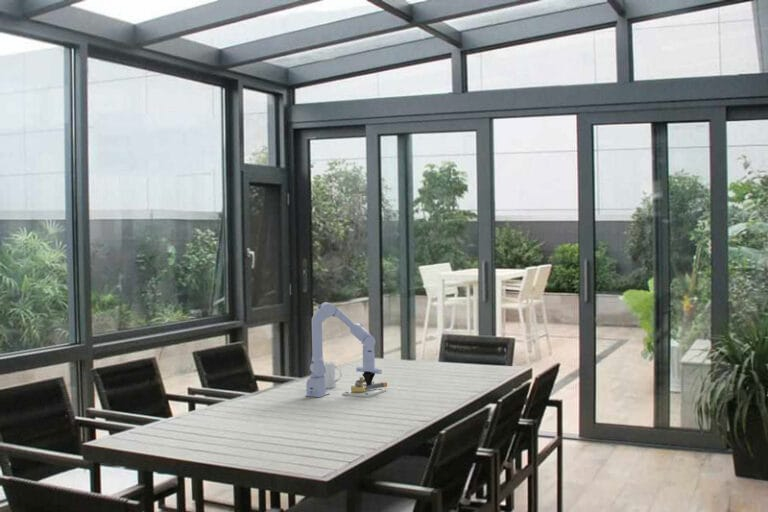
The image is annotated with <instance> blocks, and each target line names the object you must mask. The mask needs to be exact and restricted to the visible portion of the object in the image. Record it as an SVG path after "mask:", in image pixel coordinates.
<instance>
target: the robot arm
mask: <svg viewBox="0 0 768 512" xmlns="http://www.w3.org/2000/svg"><path fill="white" fill-rule="evenodd" d="M331 317H334V318H338V319H339V320H340V321H341V322H342V323H344V324H345V325H346V326H347V327H348V328H349V333H351V334H352V335H353V336H354V338H356V339H357V340H358V341H360V342H361V344H362V366H357V367H356V368H355V369H356V371H355V372H361V374H362V377H363V379H365V381H366V385H370V384H372V381H374V377H375V376H376V375H380V374H382V373H383V372H382V369H381V368H380V369H379V368H376V367H375V366H376V363H375V361H376V360H375V358H376V357H375V356H376V355H375V345H376V343H377V342H376V338H375V337H374V336H373V335H371V333H370V331H369V330H366V329H365V328H364V327H363V324H362V323H357V322H354V321H352V320H351V318H349V317H348V315H346V313H344V312H343V311H342V310H341V309H340V308H338V307H337V306H335V304H333V303H330V302H328V301H324V302H322V303H321V304H319V305H318V306H317V307H316V310H315V312H314V313H313V316H312V317H311V347H312V348H311V350H312V351H311V352H312V353H311V354H312V356H311V362H310V365H309V370H310V372H311V373H310V377H309V379H307V380H306V384H305V385H306V394H304V396H305V397H313V398H320V397H323V396H327V395H330V392H327V388H326V375H325V372H326V368H325V366H324V362H325V361H324V355H323V350H324V349H323V323H324V322H325V320H326V319H328V318H331Z"/></svg>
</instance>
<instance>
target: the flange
mask: <svg viewBox="0 0 768 512" xmlns="http://www.w3.org/2000/svg"><path fill="white" fill-rule="evenodd" d="M354 386H362V385H361V383H356V382H355V383H354ZM385 392H386V389H384V388H375V389H369V390H366V392H361V393H354V392H351V390H349V391H348V390H347V391H344V392H342V396H345V397H346V396H350V397H358V396H359V397H360V398H370V397H372V396H376V395H380V394H382V393H385Z"/></svg>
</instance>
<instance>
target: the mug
mask: <svg viewBox="0 0 768 512" xmlns="http://www.w3.org/2000/svg"><path fill="white" fill-rule="evenodd" d="M324 366H325V368H326V372H325V375H326V389H334V388H336V387H337V382H339V381H340V380H341V377H342V374H343V373H342V370H341V369H340V367H339V366H337V365H336V361H335V362H334V361H324ZM336 369H338V371H339V373H340V375H339V378H337V373H336Z"/></svg>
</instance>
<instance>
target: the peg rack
mask: <svg viewBox="0 0 768 512" xmlns="http://www.w3.org/2000/svg"><path fill="white" fill-rule="evenodd" d="M355 383H361V385H366V381H365V379H364V377H363V376H359V379H358V380H355ZM372 384H375V380H372Z"/></svg>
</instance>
